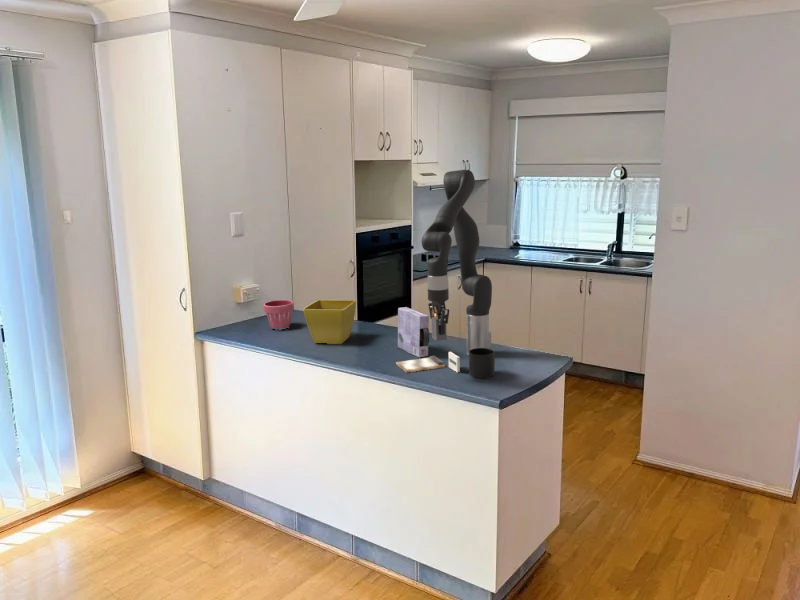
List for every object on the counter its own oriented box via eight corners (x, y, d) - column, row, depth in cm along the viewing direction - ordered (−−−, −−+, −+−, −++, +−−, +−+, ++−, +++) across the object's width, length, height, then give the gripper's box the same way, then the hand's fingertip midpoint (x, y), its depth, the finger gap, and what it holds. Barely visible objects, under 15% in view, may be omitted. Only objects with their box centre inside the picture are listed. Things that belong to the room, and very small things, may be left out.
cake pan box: (430, 356, 266) (430, 314, 262) (420, 359, 263) (419, 316, 259) (407, 346, 282) (406, 306, 278) (397, 348, 279) (395, 308, 276)
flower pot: (304, 345, 288) (302, 308, 284) (319, 334, 306) (317, 299, 302) (345, 347, 283) (343, 309, 279) (358, 335, 301) (356, 300, 297)
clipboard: (433, 358, 263) (433, 354, 262) (445, 367, 252) (445, 362, 251) (396, 364, 258) (395, 359, 257) (406, 372, 246) (406, 368, 246)
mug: (503, 371, 244) (503, 348, 242) (485, 380, 235) (485, 356, 233) (481, 367, 250) (481, 344, 248) (464, 375, 241) (463, 352, 239)
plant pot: (276, 333, 309) (274, 307, 306) (259, 328, 319) (257, 303, 316) (300, 327, 319) (299, 301, 316) (283, 323, 329) (281, 298, 326)
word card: (451, 366, 252) (450, 351, 251) (459, 372, 245) (459, 357, 244) (448, 366, 252) (448, 352, 251) (457, 372, 245) (456, 357, 243)
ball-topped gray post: (442, 336, 240) (441, 311, 238) (446, 339, 237) (445, 314, 235) (432, 338, 239) (431, 313, 237) (436, 341, 235) (435, 315, 233)
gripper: (455, 289, 228) (457, 336, 232) (439, 282, 241) (440, 327, 245) (436, 291, 226) (437, 339, 230) (420, 284, 239) (422, 329, 243)
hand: (439, 332), depth 237 cm, fingers closed on ball-topped gray post, 4 cm apart
